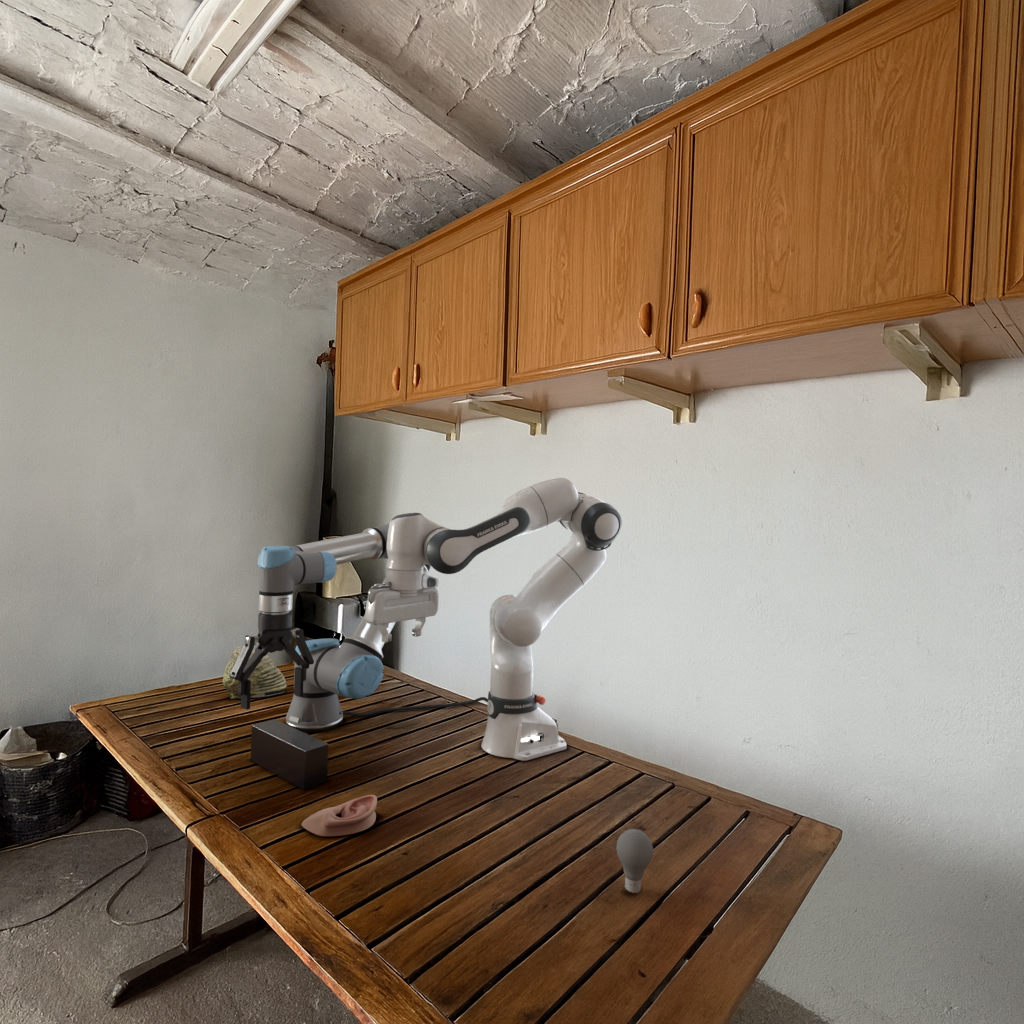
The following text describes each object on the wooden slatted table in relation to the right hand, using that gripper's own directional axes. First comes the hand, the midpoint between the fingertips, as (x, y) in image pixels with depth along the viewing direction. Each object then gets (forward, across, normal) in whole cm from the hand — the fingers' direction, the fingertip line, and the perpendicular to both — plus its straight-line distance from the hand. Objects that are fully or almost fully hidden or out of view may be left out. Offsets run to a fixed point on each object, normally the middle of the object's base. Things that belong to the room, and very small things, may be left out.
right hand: (401, 638), depth 151 cm
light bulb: (+30, -6, -66) cm, 73 cm away
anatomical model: (+30, -26, -13) cm, 42 cm away
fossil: (+30, +4, +71) cm, 77 cm away
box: (+30, -19, +16) cm, 39 cm away
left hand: (+16, -19, +22) cm, 34 cm away
